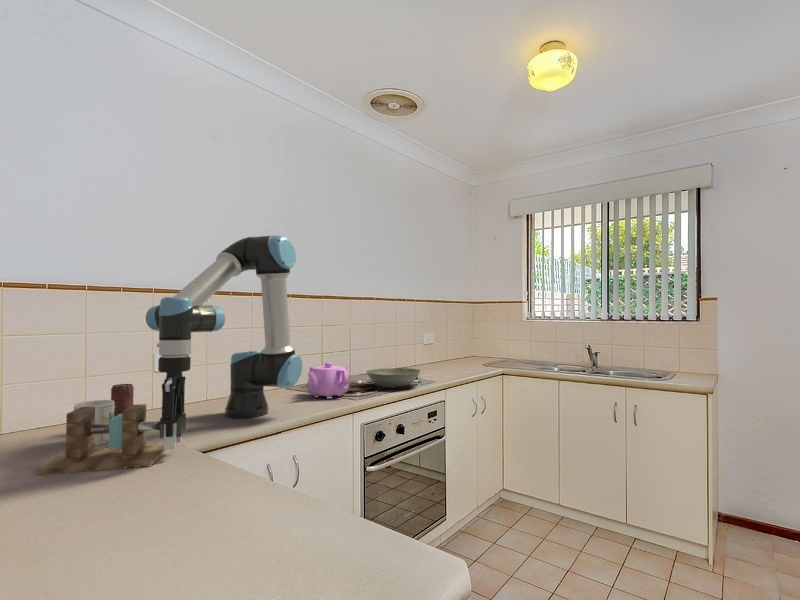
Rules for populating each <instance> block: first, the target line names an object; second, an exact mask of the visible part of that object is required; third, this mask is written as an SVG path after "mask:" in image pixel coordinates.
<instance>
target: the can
mask: <svg viewBox="0 0 800 600" xmlns="http://www.w3.org/2000/svg"><path fill="white" fill-rule="evenodd" d="M110 400H113V401H115V410H114V417H115V416H117V415H119V414H122V411H124V410H126V409H127V408H129V407H131V406H132V405H134V385H133V384H132V383H120V384H119V383H118V384H114V385H112V387H111V389H110Z"/></svg>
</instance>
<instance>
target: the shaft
mask: <svg viewBox="0 0 800 600" xmlns="http://www.w3.org/2000/svg"><path fill="white" fill-rule="evenodd" d="M161 420H162V416H161V417H160V418H159V421H146V422H138V432H146V433H147V432H159V439H164V424H160V422H161ZM175 420H176V422H175V423H177V428H176V437H181V436H182V437H183V435H185V433H186V430H187V429H186V428H187V413H186V412H184V413H176V419H175ZM91 434H109V424H94V425H92V426H91Z"/></svg>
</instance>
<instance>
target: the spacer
mask: <svg viewBox="0 0 800 600" xmlns="http://www.w3.org/2000/svg"><path fill="white" fill-rule="evenodd" d="M108 448H109V449H113V448H122V414H119V415H117V416H115V417H114V418H112V419H110V420H109V442H108Z"/></svg>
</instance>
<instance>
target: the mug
mask: <svg viewBox="0 0 800 600" xmlns="http://www.w3.org/2000/svg"><path fill="white" fill-rule="evenodd" d="M93 406H95V424H109V420H110V419H112V418H114V410H115V401H113V400H111V399H94V400H87V401H81V402H77V403H75V404H74V405H73V411H74V410H76V409H78V408H81V407H93ZM106 443H109V434H95V437H94V446H97V445H103V444H106Z"/></svg>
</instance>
